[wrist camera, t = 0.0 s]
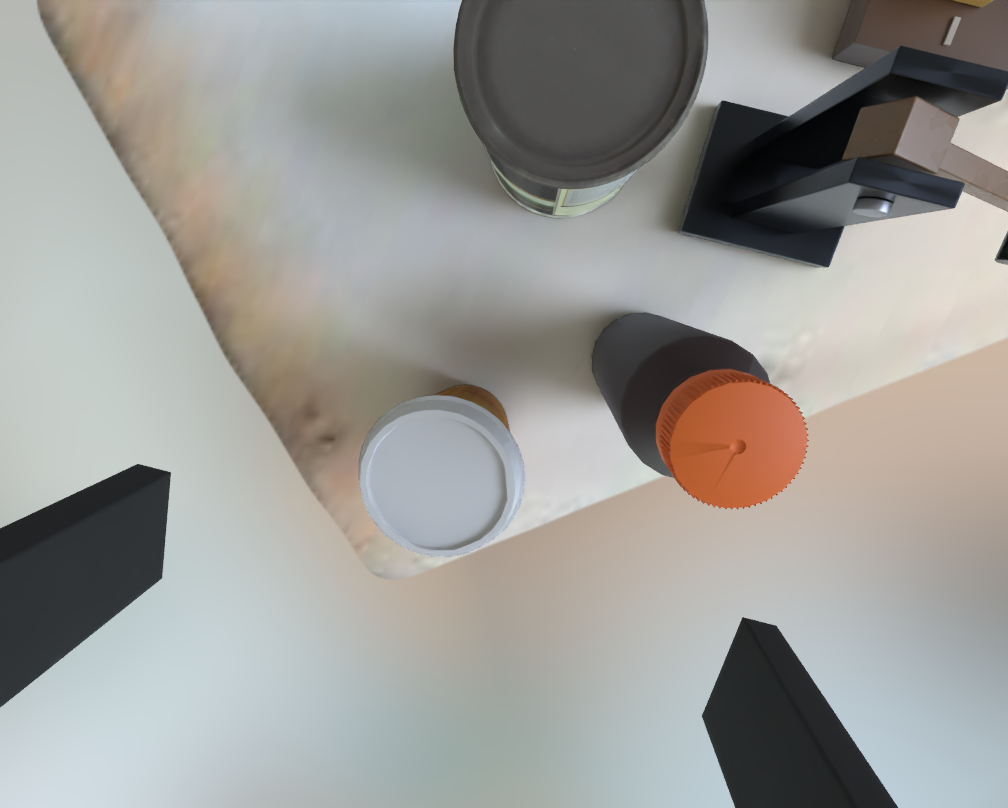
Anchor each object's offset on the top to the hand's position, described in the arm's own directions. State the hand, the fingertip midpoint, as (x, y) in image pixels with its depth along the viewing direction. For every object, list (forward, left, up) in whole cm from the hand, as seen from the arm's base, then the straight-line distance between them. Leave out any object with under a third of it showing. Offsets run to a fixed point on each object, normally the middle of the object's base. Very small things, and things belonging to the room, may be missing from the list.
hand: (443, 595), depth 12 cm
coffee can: (-16, 0, -28) cm, 33 cm away
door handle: (-16, +18, -18) cm, 30 cm away
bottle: (-3, +9, -28) cm, 30 cm away
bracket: (-16, +14, -28) cm, 35 cm away
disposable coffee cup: (+5, -2, -28) cm, 29 cm away
